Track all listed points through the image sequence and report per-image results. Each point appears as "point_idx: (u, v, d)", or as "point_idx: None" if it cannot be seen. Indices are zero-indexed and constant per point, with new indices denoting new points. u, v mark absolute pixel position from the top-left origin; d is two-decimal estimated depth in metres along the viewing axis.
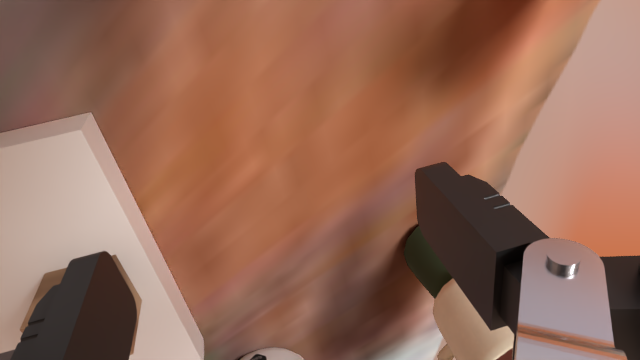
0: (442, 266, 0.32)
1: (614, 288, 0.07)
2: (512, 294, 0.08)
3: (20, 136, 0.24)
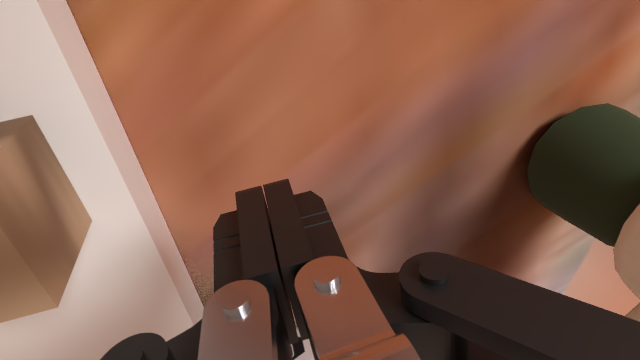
0: (625, 171, 0.18)
1: None
2: None
3: None
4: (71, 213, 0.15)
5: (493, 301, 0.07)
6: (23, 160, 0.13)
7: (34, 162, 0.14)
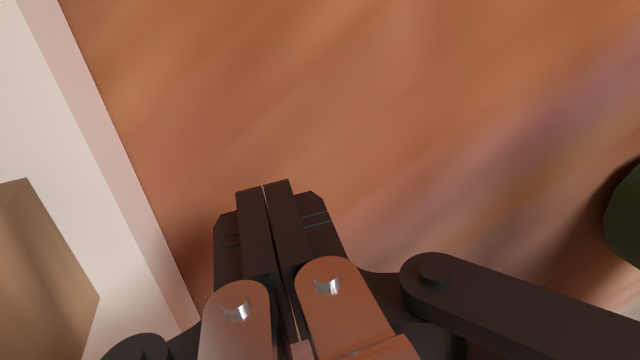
0: None
1: None
2: None
3: None
4: (75, 297, 0.12)
5: (493, 301, 0.07)
6: (13, 243, 0.10)
7: (28, 241, 0.10)
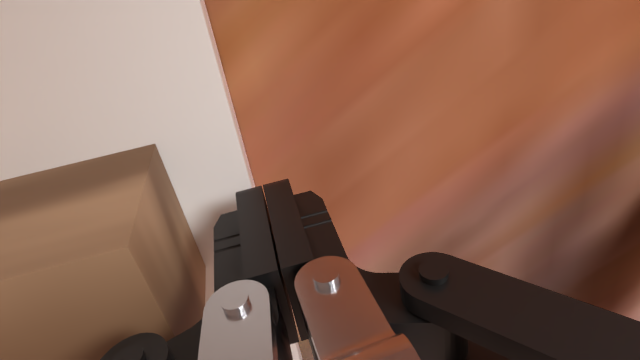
0: None
1: None
2: None
3: None
4: (193, 262, 0.12)
5: (493, 301, 0.07)
6: (157, 203, 0.10)
7: (164, 203, 0.11)
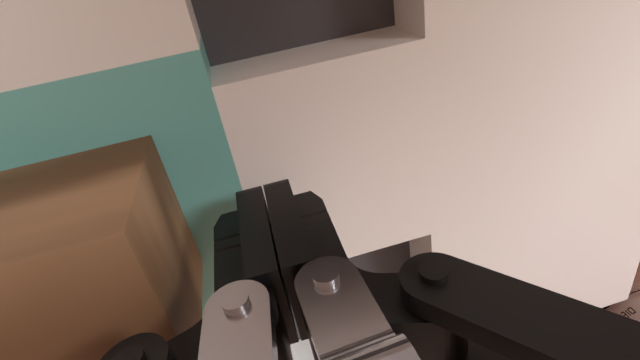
0: None
1: None
2: None
3: None
4: (190, 255, 0.12)
5: (493, 301, 0.07)
6: (154, 194, 0.10)
7: (160, 194, 0.11)
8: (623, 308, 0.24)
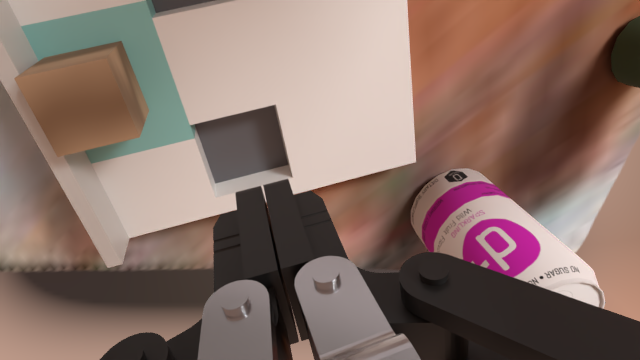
0: None
1: None
2: None
3: None
4: (140, 99, 0.26)
5: (493, 301, 0.07)
6: (121, 60, 0.24)
7: (124, 64, 0.25)
8: (432, 180, 0.38)
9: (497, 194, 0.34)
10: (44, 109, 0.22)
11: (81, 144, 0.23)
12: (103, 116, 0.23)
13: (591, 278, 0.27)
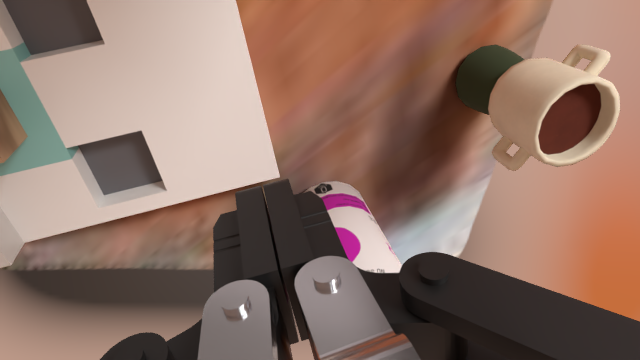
0: (495, 72, 0.37)
1: None
2: None
3: None
4: (15, 128, 0.32)
5: (493, 301, 0.07)
6: None
7: None
8: (305, 191, 0.43)
9: (350, 205, 0.40)
10: None
11: None
12: None
13: None
